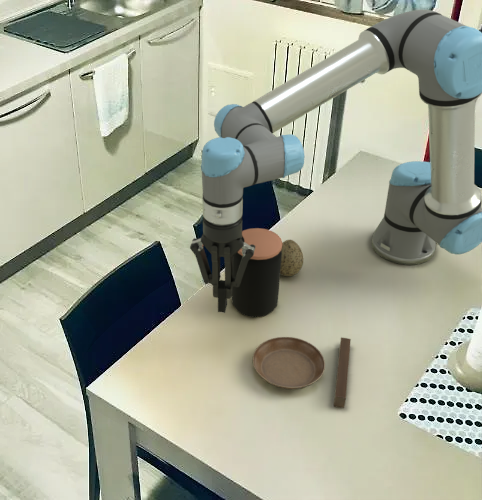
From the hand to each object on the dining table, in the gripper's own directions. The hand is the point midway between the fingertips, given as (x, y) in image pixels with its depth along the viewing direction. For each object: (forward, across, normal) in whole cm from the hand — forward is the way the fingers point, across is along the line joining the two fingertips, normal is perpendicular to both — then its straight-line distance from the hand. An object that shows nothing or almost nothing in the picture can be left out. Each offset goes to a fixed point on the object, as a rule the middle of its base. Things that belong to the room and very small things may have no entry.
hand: (222, 308), depth 152 cm
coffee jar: (+11, +5, +15) cm, 19 cm away
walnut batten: (+11, +26, -4) cm, 28 cm away
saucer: (+11, +15, -5) cm, 19 cm away
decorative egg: (+11, +11, +28) cm, 32 cm away
